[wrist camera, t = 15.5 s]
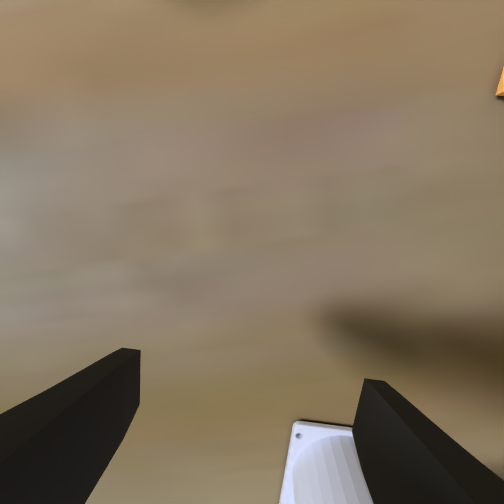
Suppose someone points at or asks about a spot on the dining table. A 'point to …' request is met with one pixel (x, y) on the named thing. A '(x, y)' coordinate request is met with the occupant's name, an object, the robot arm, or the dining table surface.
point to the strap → (501, 85)
